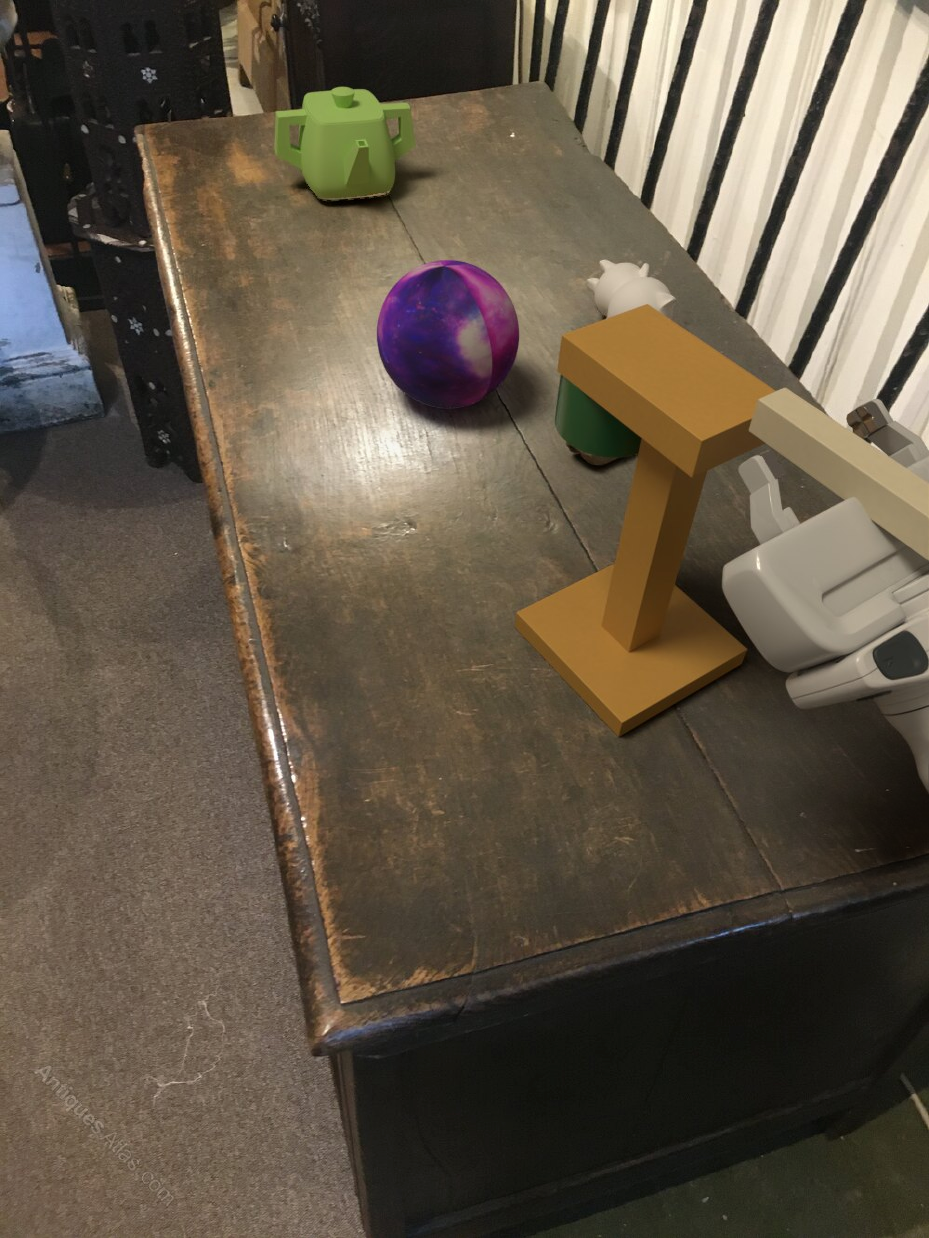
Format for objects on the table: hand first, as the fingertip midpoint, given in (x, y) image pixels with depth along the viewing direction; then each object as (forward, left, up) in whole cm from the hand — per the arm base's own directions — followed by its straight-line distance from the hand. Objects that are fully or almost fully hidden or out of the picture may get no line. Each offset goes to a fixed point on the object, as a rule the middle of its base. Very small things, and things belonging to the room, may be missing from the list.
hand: (808, 431), depth 58 cm
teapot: (+83, -55, -29) cm, 104 cm away
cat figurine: (+33, -48, -29) cm, 65 cm away
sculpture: (+23, -28, -29) cm, 46 cm away
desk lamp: (+11, -4, -29) cm, 31 cm away
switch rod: (-4, +2, -2) cm, 5 cm away
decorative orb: (+43, -23, -29) cm, 57 cm away
